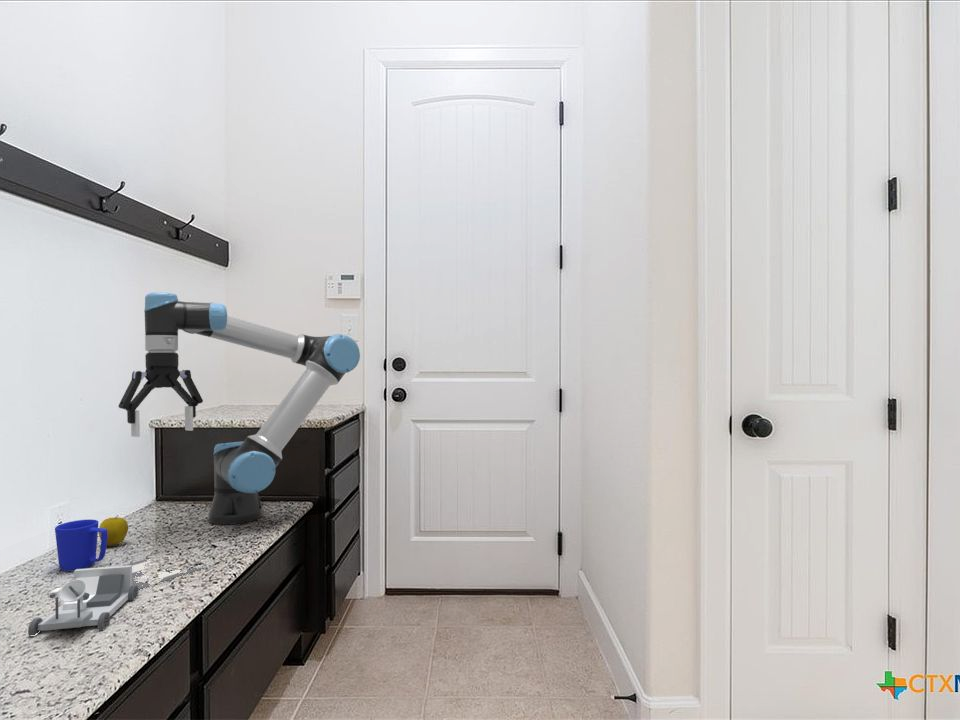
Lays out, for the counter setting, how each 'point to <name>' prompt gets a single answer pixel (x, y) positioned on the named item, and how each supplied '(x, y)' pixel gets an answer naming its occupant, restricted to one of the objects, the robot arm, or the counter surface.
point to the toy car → (89, 599)
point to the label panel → (164, 575)
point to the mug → (79, 544)
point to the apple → (114, 530)
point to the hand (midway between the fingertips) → (163, 433)
